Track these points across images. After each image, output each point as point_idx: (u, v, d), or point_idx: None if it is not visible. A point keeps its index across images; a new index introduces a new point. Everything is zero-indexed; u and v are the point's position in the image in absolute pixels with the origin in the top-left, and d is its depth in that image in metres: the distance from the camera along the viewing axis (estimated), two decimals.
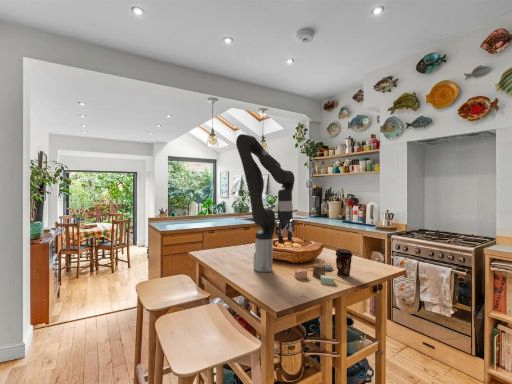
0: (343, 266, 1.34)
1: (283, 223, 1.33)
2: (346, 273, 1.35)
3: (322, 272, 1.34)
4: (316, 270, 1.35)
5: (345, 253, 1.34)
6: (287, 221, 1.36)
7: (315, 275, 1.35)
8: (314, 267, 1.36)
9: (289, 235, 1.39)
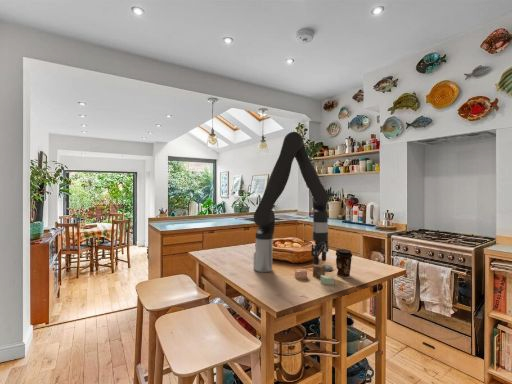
0: (343, 266, 1.34)
1: (319, 244, 1.33)
2: (346, 273, 1.35)
3: (322, 272, 1.34)
4: (316, 270, 1.35)
5: (345, 253, 1.34)
6: (322, 242, 1.35)
7: (315, 275, 1.35)
8: (314, 267, 1.36)
9: (323, 255, 1.39)
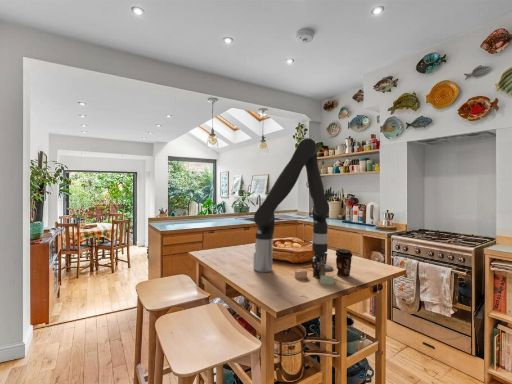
0: (343, 266, 1.34)
1: (318, 256, 1.33)
2: (346, 273, 1.35)
3: (322, 272, 1.34)
4: None
5: (345, 253, 1.34)
6: (322, 253, 1.36)
7: None
8: None
9: None
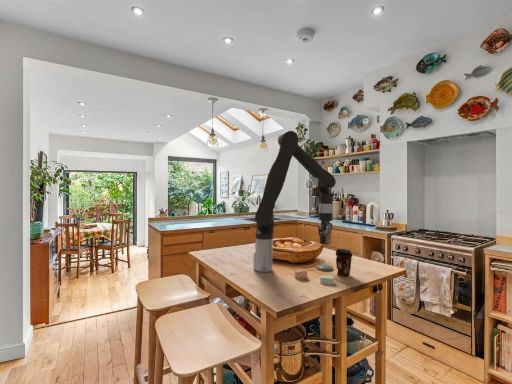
0: (343, 266, 1.34)
1: (324, 224, 1.45)
2: (346, 273, 1.35)
3: (328, 239, 1.46)
4: None
5: (345, 253, 1.34)
6: (327, 222, 1.47)
7: None
8: None
9: None
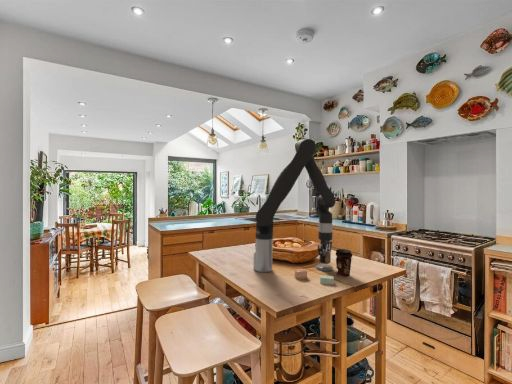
0: (343, 266, 1.34)
1: (324, 243, 1.45)
2: (346, 273, 1.35)
3: (328, 259, 1.46)
4: None
5: (345, 253, 1.34)
6: (327, 241, 1.48)
7: None
8: None
9: None
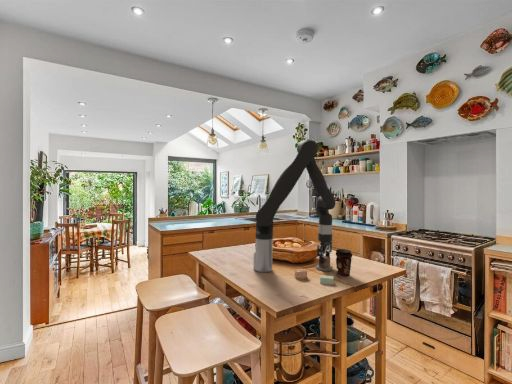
0: (343, 266, 1.34)
1: (324, 245, 1.45)
2: (346, 273, 1.35)
3: (327, 263, 1.46)
4: None
5: (345, 253, 1.34)
6: (327, 243, 1.48)
7: (321, 266, 1.47)
8: None
9: None
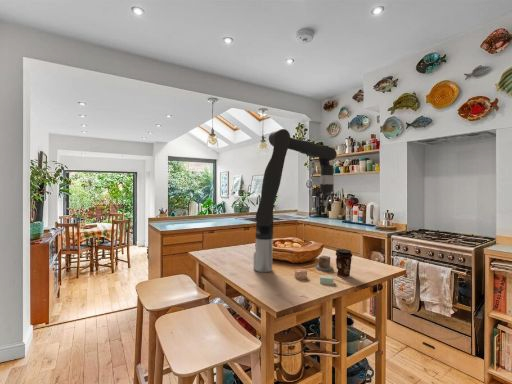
0: (343, 266, 1.34)
1: (325, 195, 1.51)
2: (346, 273, 1.35)
3: (327, 263, 1.46)
4: (322, 261, 1.47)
5: (345, 253, 1.34)
6: (328, 193, 1.54)
7: (321, 266, 1.47)
8: (320, 258, 1.48)
9: (329, 206, 1.57)
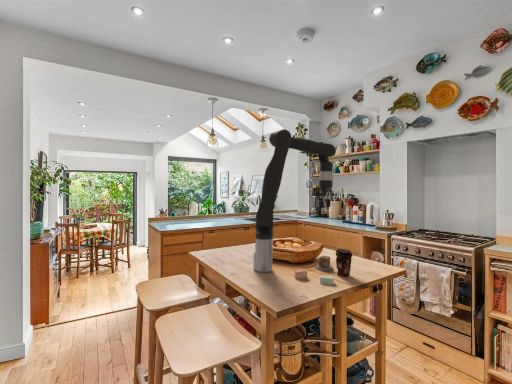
0: (343, 266, 1.34)
1: (325, 190, 1.53)
2: (346, 273, 1.35)
3: (327, 263, 1.46)
4: (322, 261, 1.47)
5: (345, 253, 1.34)
6: (327, 189, 1.56)
7: (321, 266, 1.47)
8: (320, 258, 1.48)
9: (328, 202, 1.59)
